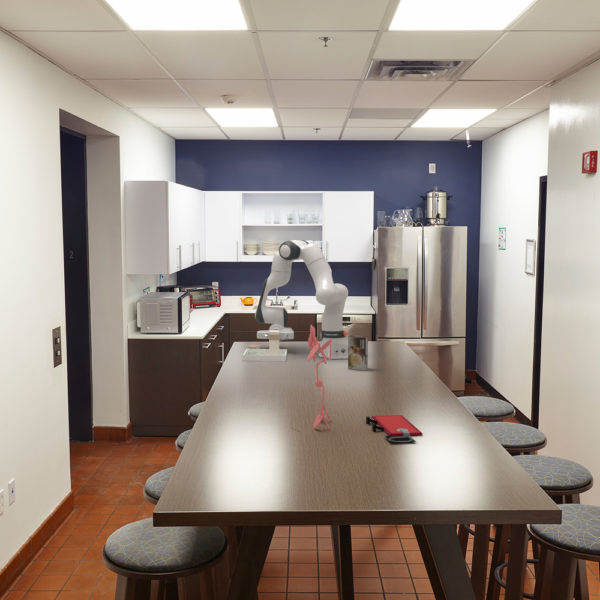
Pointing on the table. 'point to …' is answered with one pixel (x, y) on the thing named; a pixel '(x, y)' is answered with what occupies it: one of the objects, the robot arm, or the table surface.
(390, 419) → the red board with handle
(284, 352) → the tray
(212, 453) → the table surface
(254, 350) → the lidded jar
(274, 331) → the juice carton
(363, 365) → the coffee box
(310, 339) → the figurine
